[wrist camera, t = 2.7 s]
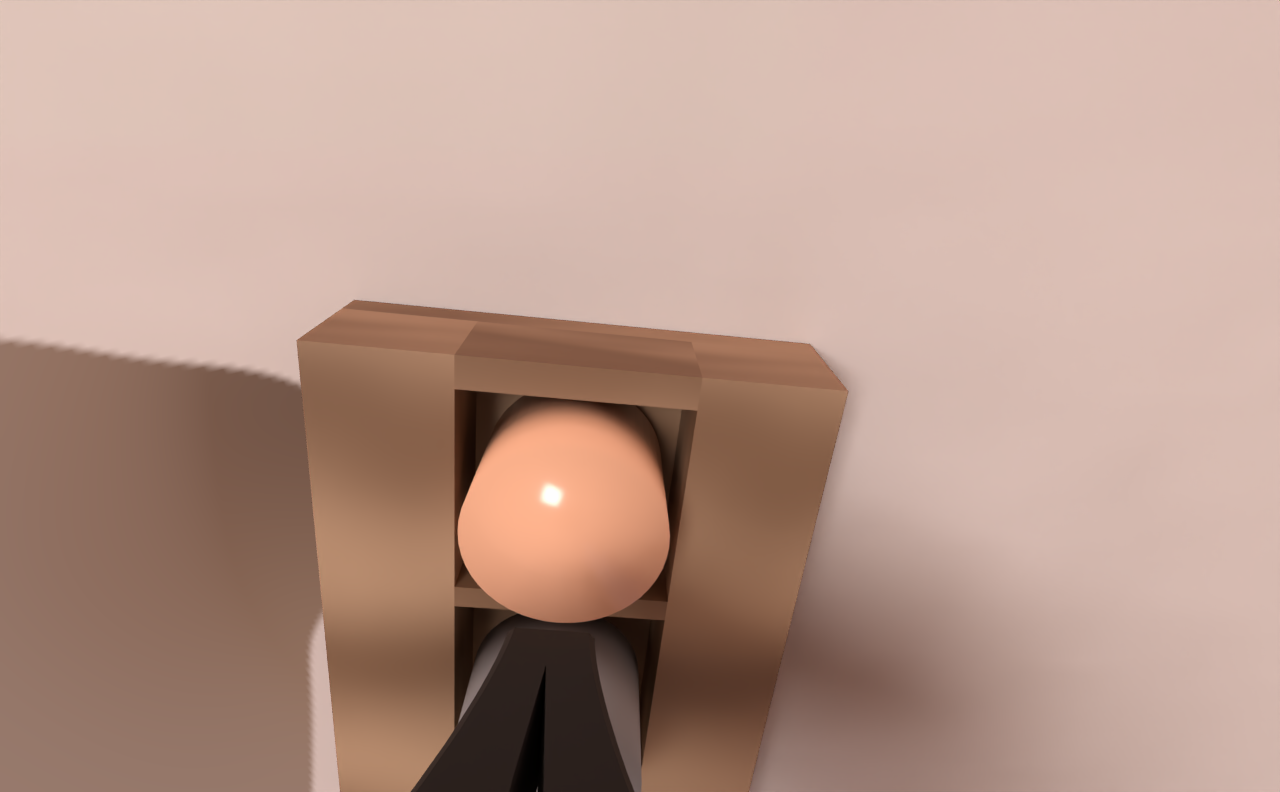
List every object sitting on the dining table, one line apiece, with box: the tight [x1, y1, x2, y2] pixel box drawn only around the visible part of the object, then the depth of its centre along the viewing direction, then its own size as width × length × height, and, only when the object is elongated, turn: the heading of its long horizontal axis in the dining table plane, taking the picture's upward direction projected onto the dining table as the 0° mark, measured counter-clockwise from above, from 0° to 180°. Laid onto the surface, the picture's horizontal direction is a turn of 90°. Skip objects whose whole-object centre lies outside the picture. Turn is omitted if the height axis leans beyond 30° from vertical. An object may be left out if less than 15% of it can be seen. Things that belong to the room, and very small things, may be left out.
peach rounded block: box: [458, 395, 670, 623], centre depth 16 cm, size 5×5×4 cm
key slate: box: [458, 613, 642, 792], centre depth 17 cm, size 5×5×4 cm
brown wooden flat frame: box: [297, 300, 848, 792], centre depth 20 cm, size 19×12×3 cm, turn 174°
